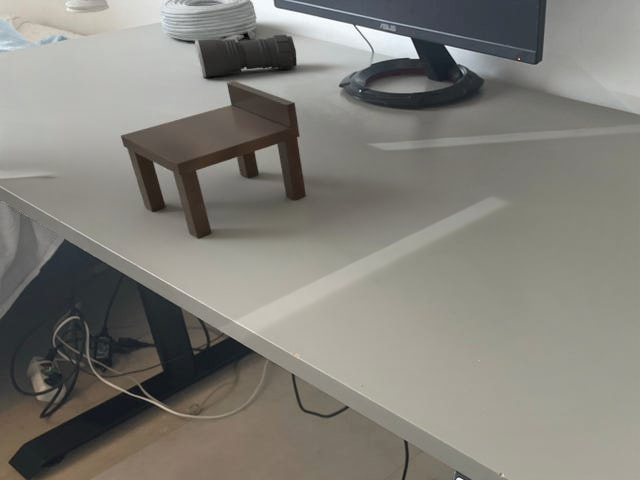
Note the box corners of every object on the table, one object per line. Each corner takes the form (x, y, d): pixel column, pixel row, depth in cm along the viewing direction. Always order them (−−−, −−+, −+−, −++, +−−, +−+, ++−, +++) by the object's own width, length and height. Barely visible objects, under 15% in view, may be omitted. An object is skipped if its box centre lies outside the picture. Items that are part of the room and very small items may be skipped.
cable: (257, 42, 133) (251, 7, 129) (158, 47, 130) (148, 11, 126) (259, 21, 146) (254, -12, 142) (170, 25, 143) (162, -9, 139)
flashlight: (294, 63, 122) (289, 29, 119) (300, 71, 118) (296, 36, 115) (200, 72, 118) (193, 36, 114) (204, 81, 114) (196, 45, 110)
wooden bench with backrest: (197, 240, 72) (170, 138, 66) (142, 207, 78) (112, 111, 71) (308, 196, 80) (294, 102, 74) (251, 169, 86) (234, 80, 80)
